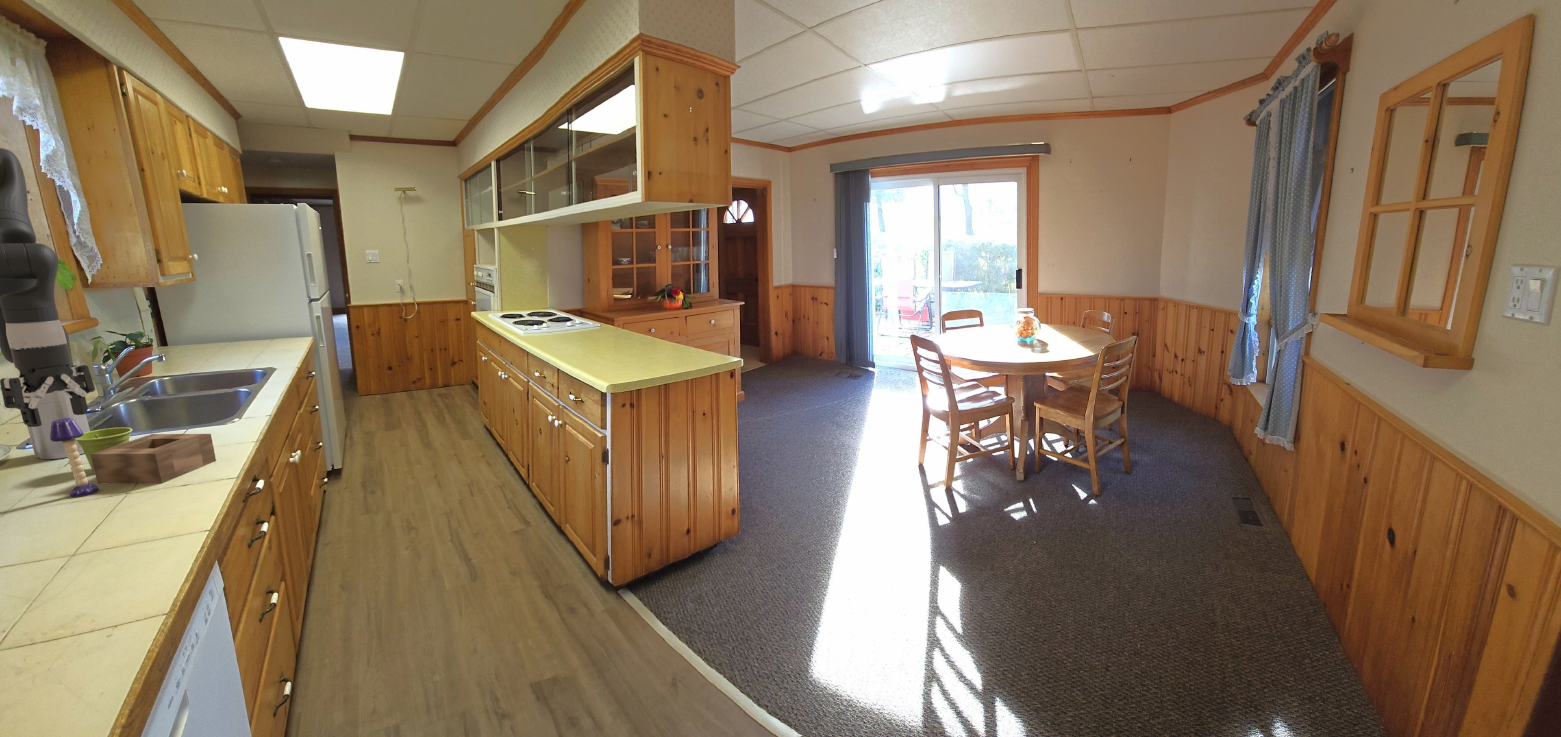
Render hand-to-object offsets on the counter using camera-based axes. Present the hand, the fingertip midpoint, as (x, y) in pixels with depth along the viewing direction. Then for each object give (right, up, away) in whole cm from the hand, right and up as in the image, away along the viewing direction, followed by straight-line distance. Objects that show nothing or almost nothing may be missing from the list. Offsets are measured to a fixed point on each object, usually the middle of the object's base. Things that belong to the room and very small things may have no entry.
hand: (58, 420), depth 128 cm
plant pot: (-10, -13, +19) cm, 25 cm away
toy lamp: (0, -16, +4) cm, 17 cm away
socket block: (+5, -14, +16) cm, 22 cm away
